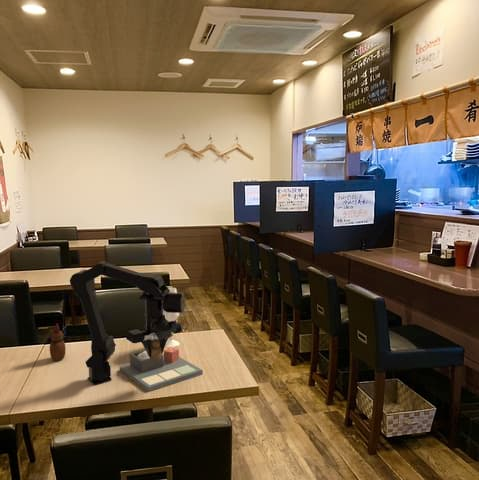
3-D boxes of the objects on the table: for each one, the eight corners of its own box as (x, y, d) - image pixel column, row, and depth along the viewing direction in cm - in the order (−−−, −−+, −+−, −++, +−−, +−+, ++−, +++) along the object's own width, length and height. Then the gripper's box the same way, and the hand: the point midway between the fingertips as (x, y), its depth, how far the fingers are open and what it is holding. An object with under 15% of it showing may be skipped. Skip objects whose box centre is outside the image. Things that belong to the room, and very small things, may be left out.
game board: (148, 391, 159) (147, 374, 158) (119, 370, 176) (118, 354, 175) (202, 373, 172) (202, 358, 172) (171, 355, 189) (170, 341, 188)
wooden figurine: (66, 361, 184) (64, 323, 182) (50, 363, 182) (48, 325, 180) (65, 354, 190) (63, 318, 188) (50, 357, 188) (48, 320, 186)
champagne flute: (164, 347, 198) (163, 291, 195) (162, 341, 204) (161, 287, 201) (180, 346, 200) (179, 290, 196) (178, 340, 206) (177, 286, 203)
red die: (172, 362, 179) (172, 352, 178) (164, 360, 181) (163, 350, 180) (178, 359, 182) (178, 349, 181) (170, 357, 184) (170, 347, 183)
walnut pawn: (153, 361, 161) (152, 342, 160) (147, 357, 164) (147, 338, 163) (163, 358, 163) (163, 339, 162) (158, 355, 166) (157, 336, 165)
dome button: (142, 367, 171) (142, 355, 170) (134, 362, 176) (134, 350, 175) (158, 363, 175) (158, 351, 174) (150, 357, 180) (149, 346, 179)
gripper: (140, 323, 149) (141, 370, 151) (190, 311, 161) (191, 355, 163) (124, 314, 158) (126, 359, 160) (173, 304, 169) (174, 346, 172)
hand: (155, 355), depth 163 cm, fingers closed on walnut pawn, 4 cm apart
